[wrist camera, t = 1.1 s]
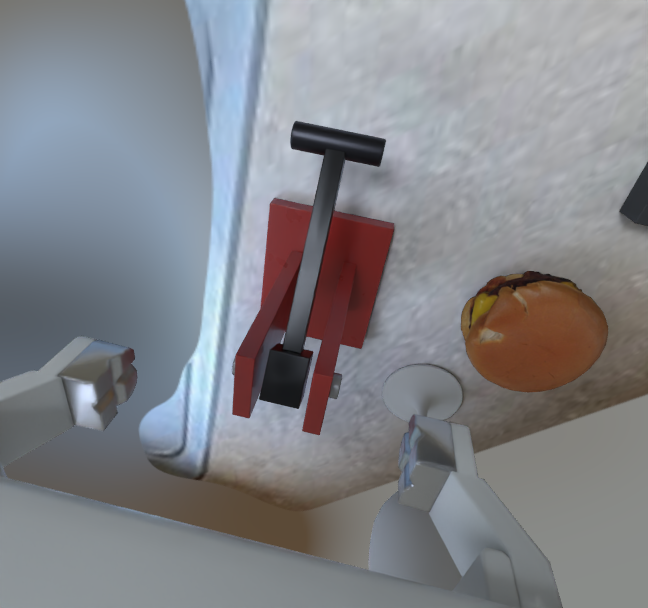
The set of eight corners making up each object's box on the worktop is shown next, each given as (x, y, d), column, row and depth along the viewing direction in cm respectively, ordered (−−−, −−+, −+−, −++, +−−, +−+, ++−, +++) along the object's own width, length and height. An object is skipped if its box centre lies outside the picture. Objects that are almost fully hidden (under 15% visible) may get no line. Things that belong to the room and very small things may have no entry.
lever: (298, 130, 24) (293, 112, 21) (384, 147, 24) (388, 131, 21) (244, 383, 25) (233, 393, 22) (326, 402, 24) (324, 415, 22)
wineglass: (391, 353, 36) (381, 642, 19) (477, 374, 36) (548, 688, 18) (371, 412, 40) (347, 694, 23) (448, 431, 40) (483, 732, 23)
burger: (573, 368, 34) (595, 410, 30) (455, 364, 36) (462, 403, 32) (605, 259, 29) (636, 292, 25) (466, 260, 31) (475, 291, 27)
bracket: (274, 197, 31) (196, 290, 19) (394, 223, 30) (389, 334, 19) (262, 318, 37) (198, 444, 25) (362, 340, 36) (343, 479, 25)
